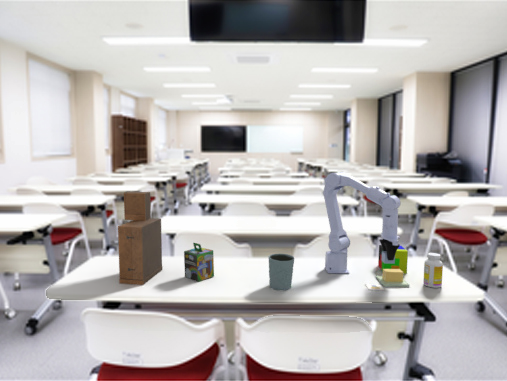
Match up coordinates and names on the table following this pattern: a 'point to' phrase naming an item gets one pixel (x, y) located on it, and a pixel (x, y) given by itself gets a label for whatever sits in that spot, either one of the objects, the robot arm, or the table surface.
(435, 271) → the supplement bottle
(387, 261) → the blue cube
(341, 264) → the robot arm
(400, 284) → the baseplate
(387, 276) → the ochre brick
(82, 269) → the table surface
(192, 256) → the multicoloured upright box
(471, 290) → the table surface
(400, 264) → the puzzle toy
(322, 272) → the table surface
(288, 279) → the green cup
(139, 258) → the brown stacked boxes
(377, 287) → the page
